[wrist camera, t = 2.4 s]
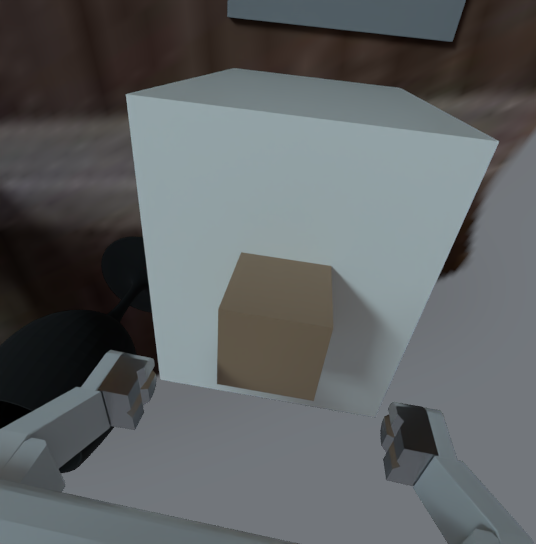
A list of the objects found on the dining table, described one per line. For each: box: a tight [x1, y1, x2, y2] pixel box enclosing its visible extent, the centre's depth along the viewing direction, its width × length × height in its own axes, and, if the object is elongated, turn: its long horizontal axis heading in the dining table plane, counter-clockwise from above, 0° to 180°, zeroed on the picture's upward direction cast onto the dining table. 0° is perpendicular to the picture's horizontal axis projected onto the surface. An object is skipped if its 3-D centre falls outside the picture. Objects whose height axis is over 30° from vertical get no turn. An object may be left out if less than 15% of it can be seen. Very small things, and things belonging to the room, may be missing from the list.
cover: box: [126, 68, 499, 418], centre depth 22 cm, size 13×16×22 cm
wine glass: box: [0, 237, 152, 473], centre depth 32 cm, size 10×10×20 cm
